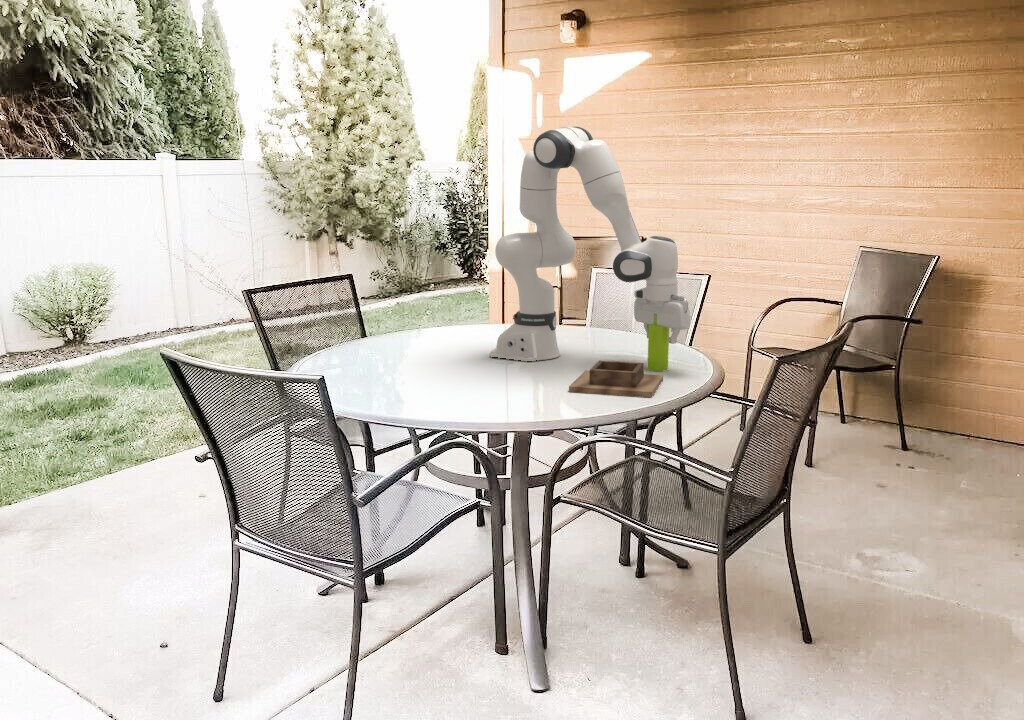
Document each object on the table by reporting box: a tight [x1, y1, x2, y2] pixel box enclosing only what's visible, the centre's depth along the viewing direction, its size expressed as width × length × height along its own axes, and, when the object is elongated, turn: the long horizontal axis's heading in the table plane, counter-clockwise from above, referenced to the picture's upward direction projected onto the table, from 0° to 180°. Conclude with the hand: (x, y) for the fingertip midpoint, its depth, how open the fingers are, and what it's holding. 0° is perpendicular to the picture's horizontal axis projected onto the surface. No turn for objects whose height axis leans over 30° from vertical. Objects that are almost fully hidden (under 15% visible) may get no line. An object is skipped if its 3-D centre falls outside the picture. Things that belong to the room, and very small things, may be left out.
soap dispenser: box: [647, 313, 670, 372], centre depth 226 cm, size 6×7×20 cm
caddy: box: [568, 359, 664, 398], centre depth 210 cm, size 22×18×6 cm
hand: (661, 340), depth 226 cm, fingers open, 8 cm apart
